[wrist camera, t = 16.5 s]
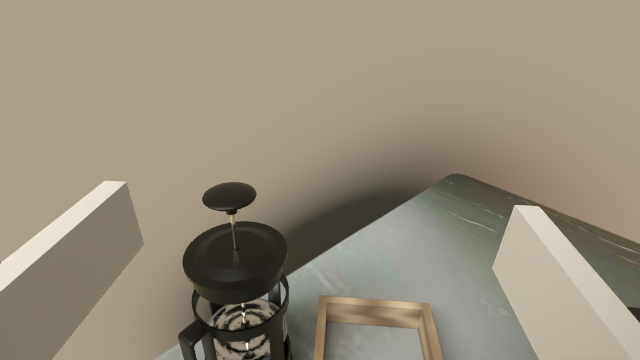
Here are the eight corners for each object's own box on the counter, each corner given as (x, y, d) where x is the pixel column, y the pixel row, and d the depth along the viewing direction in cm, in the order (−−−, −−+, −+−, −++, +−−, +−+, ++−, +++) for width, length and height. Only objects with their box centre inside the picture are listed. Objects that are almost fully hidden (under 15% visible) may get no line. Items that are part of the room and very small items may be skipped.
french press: (255, 314, 45) (239, 153, 34) (313, 355, 40) (317, 183, 29) (174, 388, 36) (117, 206, 25) (235, 450, 32) (199, 260, 20)
